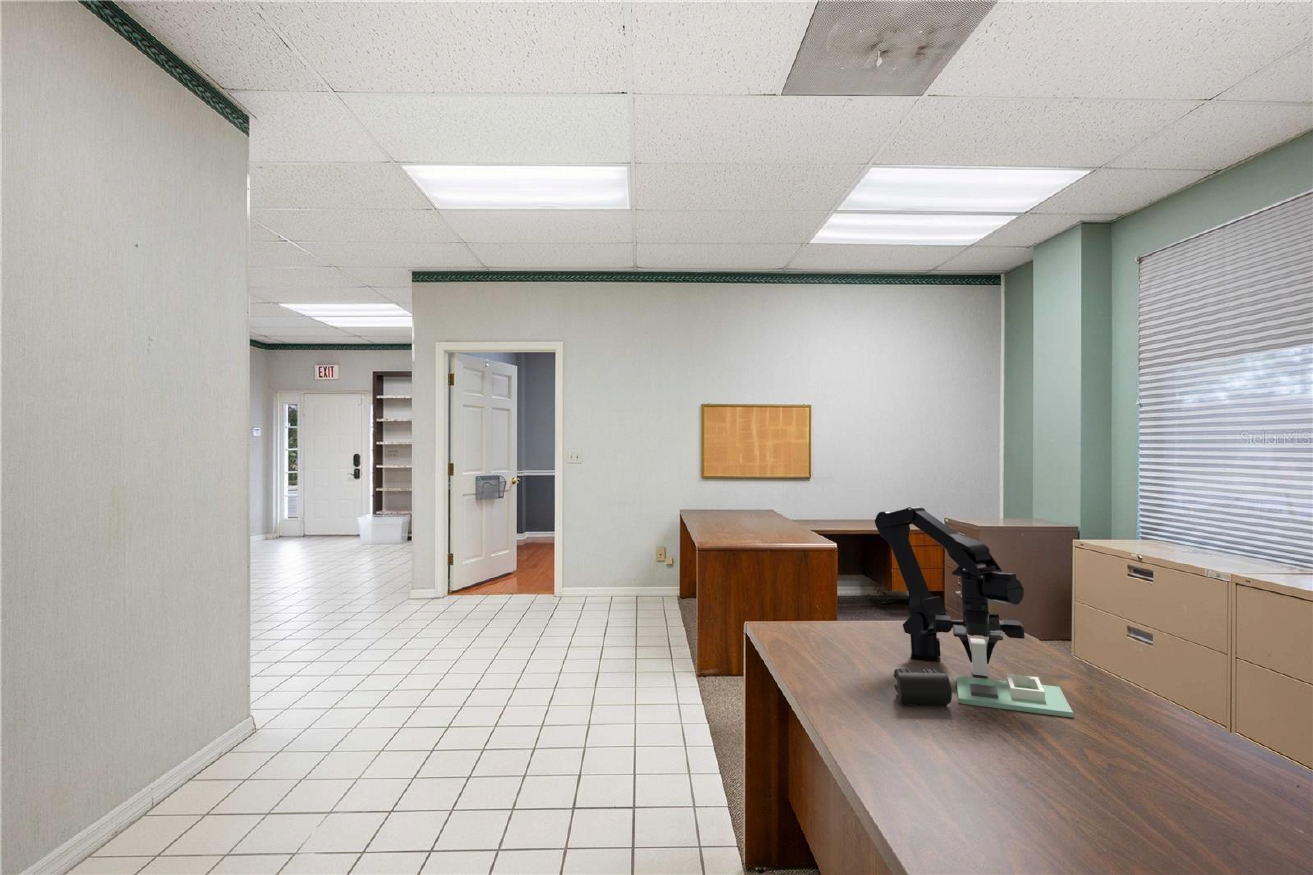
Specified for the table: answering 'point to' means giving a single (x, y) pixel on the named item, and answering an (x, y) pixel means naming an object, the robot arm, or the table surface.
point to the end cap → (922, 688)
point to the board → (1014, 695)
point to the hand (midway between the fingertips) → (979, 662)
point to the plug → (979, 657)
